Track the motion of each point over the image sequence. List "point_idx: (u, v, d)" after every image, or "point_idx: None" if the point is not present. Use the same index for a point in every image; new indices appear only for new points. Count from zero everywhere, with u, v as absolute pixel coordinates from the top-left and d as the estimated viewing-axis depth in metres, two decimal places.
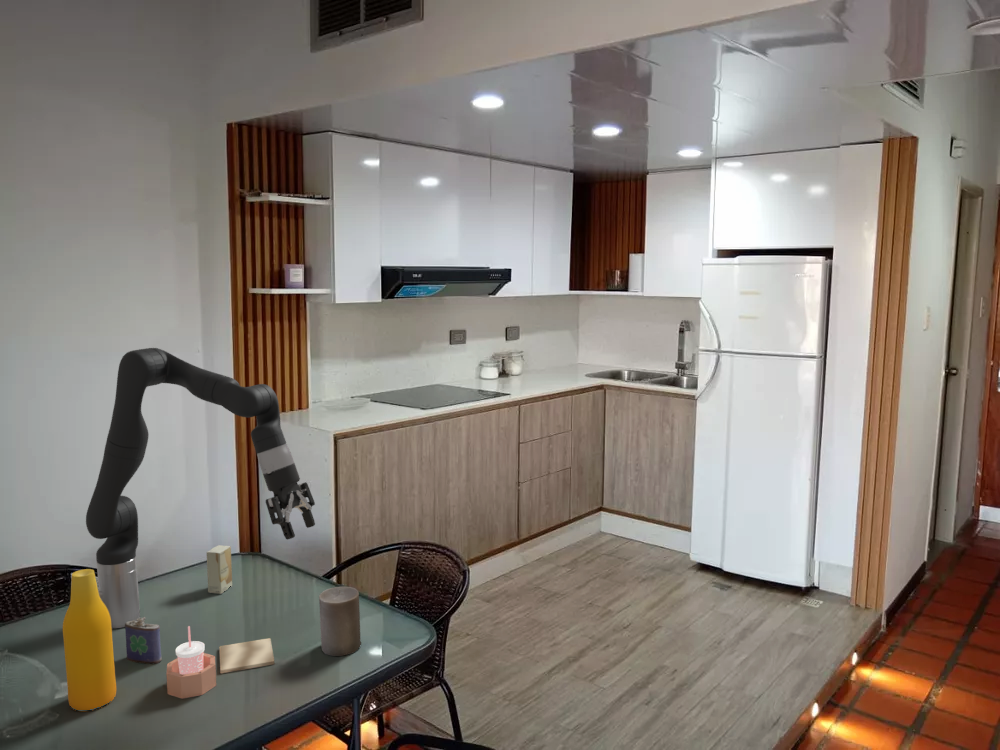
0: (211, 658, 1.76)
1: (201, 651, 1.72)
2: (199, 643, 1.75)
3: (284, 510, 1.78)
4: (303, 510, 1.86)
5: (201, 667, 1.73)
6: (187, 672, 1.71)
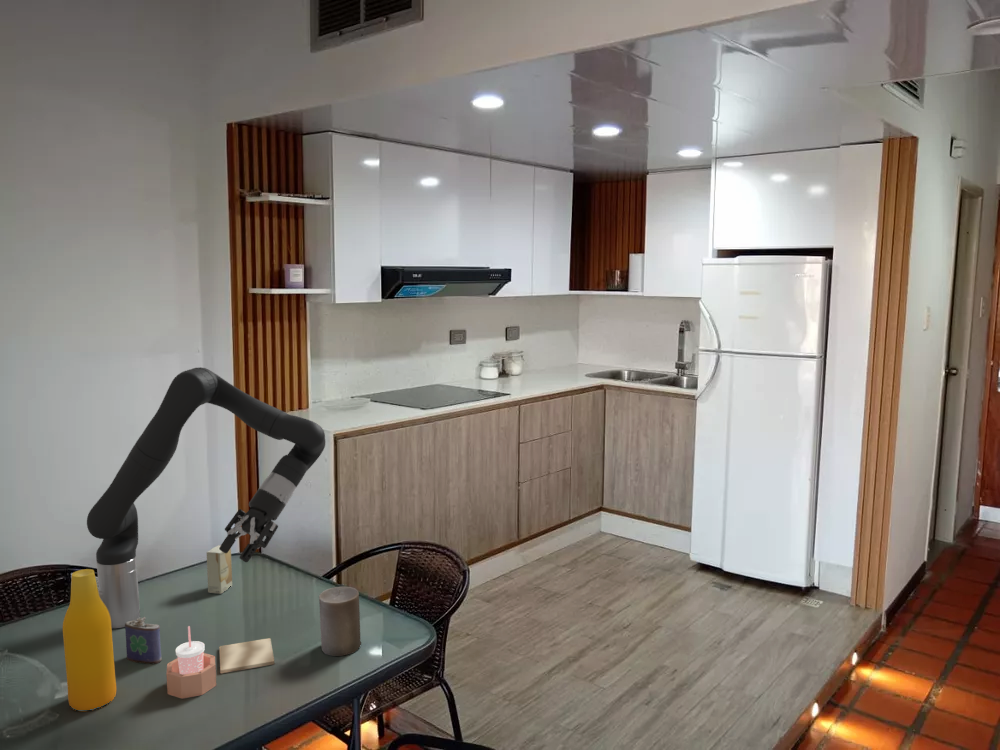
0: (211, 658, 1.76)
1: (201, 651, 1.72)
2: (199, 643, 1.75)
3: None
4: (232, 535, 1.83)
5: (201, 667, 1.73)
6: (187, 672, 1.71)
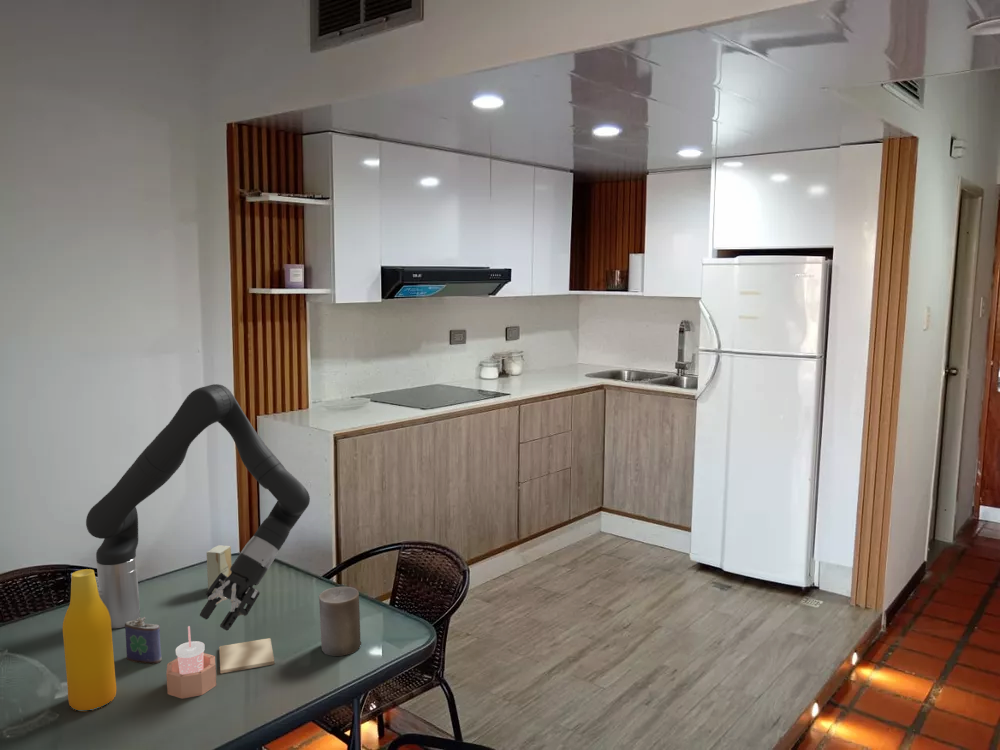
0: (211, 658, 1.76)
1: (201, 651, 1.72)
2: (199, 643, 1.75)
3: None
4: (213, 600, 1.81)
5: (201, 667, 1.73)
6: (187, 672, 1.71)
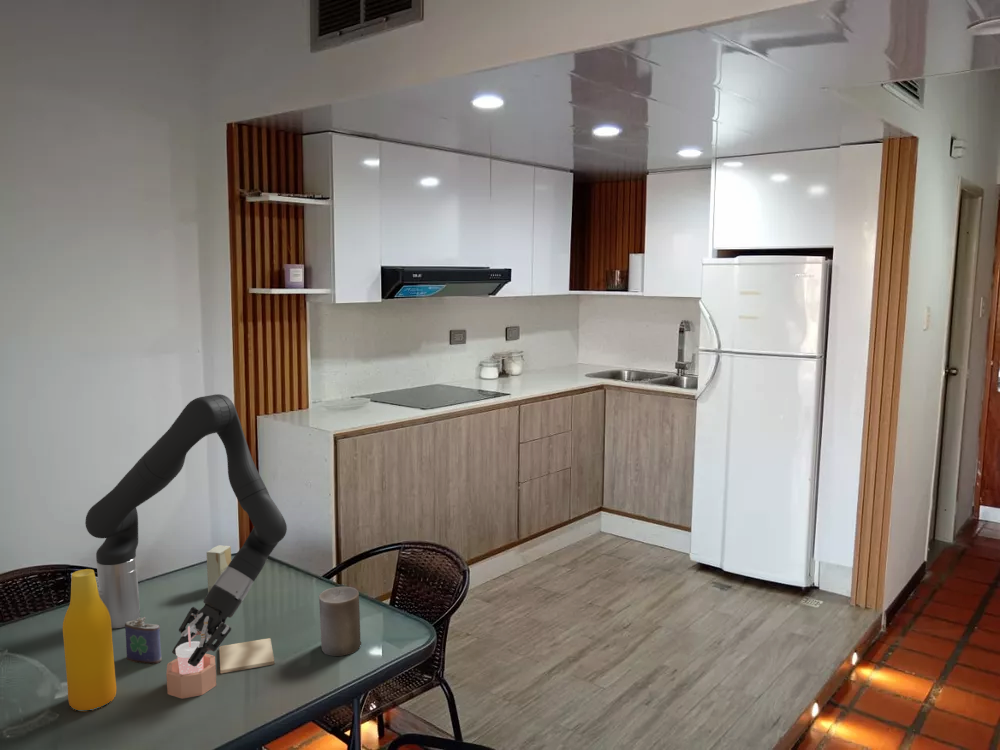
0: (211, 658, 1.76)
1: None
2: (199, 643, 1.75)
3: None
4: (186, 636, 1.75)
5: (201, 667, 1.73)
6: (187, 672, 1.71)
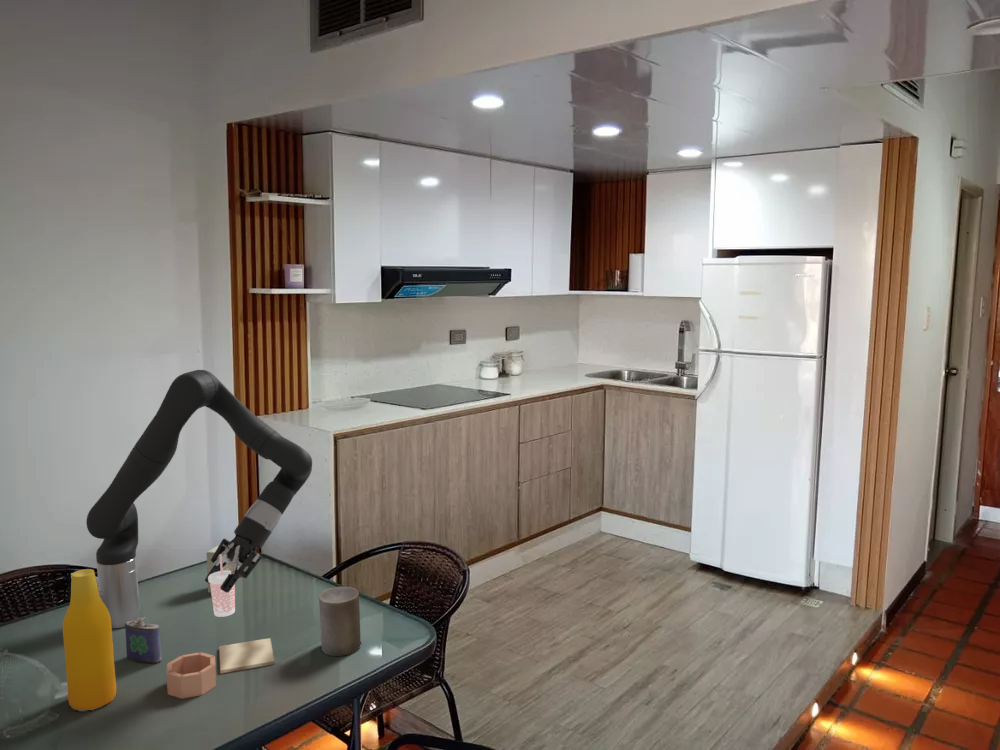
0: (211, 658, 1.76)
1: None
2: (230, 572, 1.80)
3: None
4: (218, 566, 1.81)
5: (233, 594, 1.78)
6: (219, 598, 1.76)
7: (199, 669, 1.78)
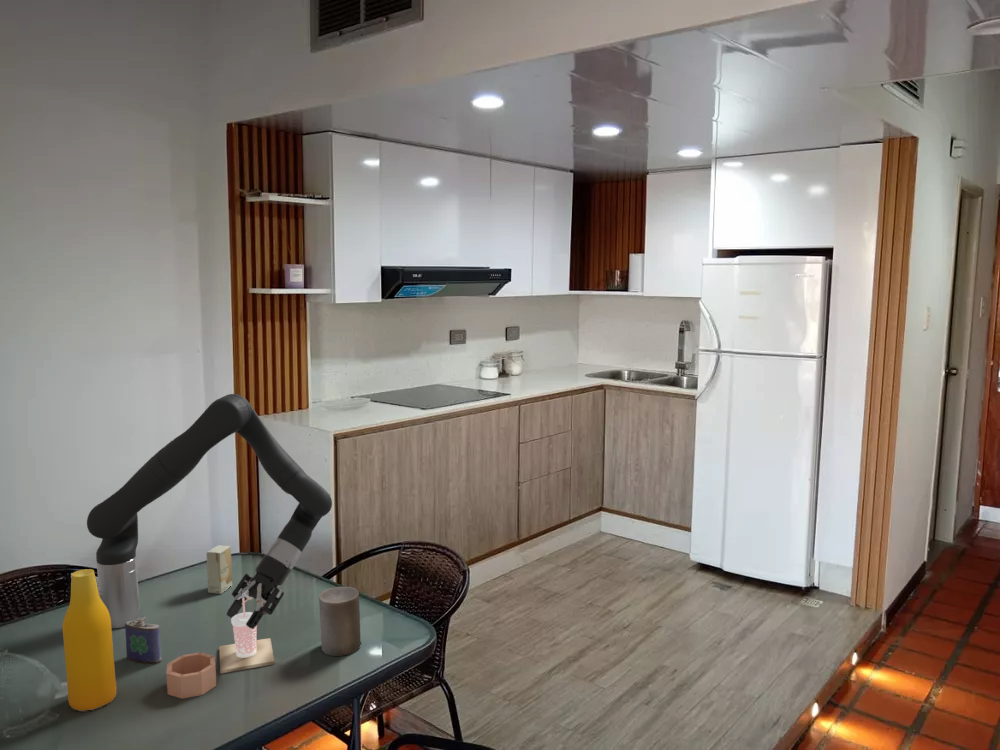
0: (211, 658, 1.76)
1: None
2: None
3: None
4: (239, 600, 1.88)
5: (255, 636, 1.86)
6: (242, 640, 1.83)
7: (199, 669, 1.78)
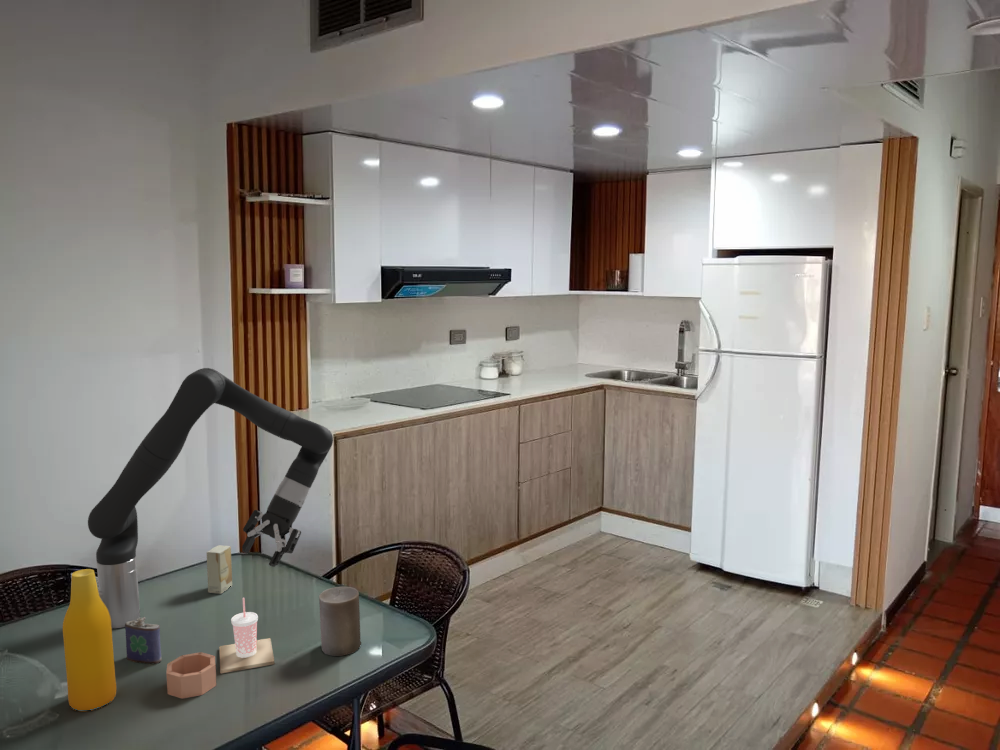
0: (211, 658, 1.76)
1: (255, 621, 1.85)
2: (252, 614, 1.87)
3: (284, 541, 1.93)
4: (252, 536, 1.95)
5: (255, 636, 1.86)
6: (242, 640, 1.84)
7: (199, 669, 1.78)
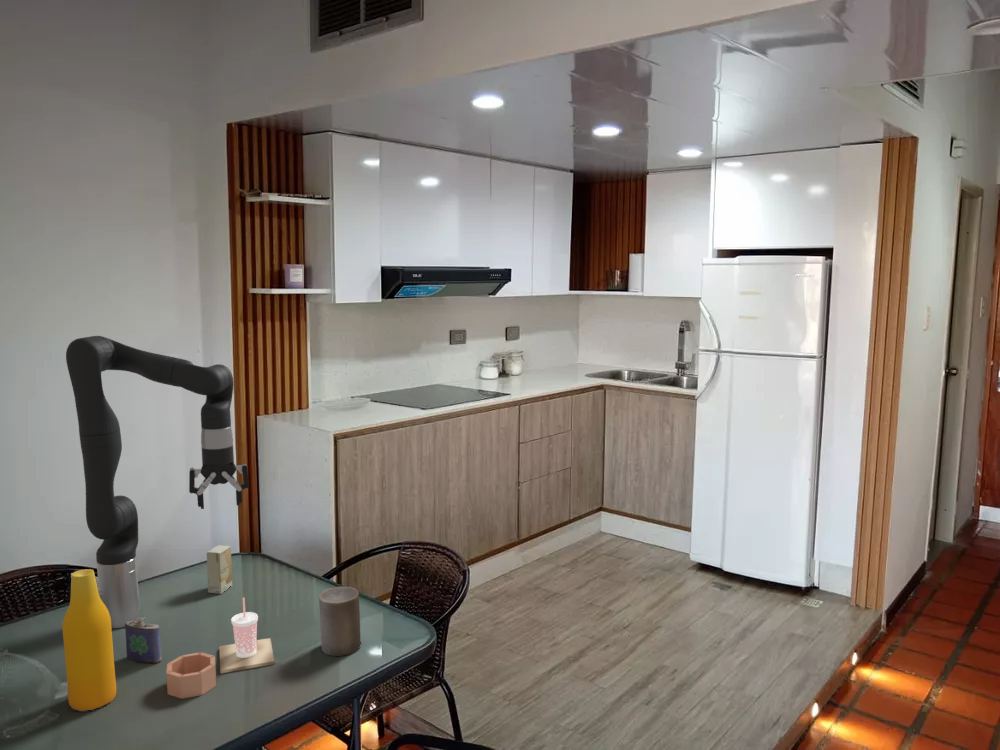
0: (211, 658, 1.76)
1: (255, 621, 1.85)
2: (252, 614, 1.87)
3: (235, 479, 1.99)
4: None
5: (255, 636, 1.86)
6: (242, 640, 1.84)
7: (199, 669, 1.78)
